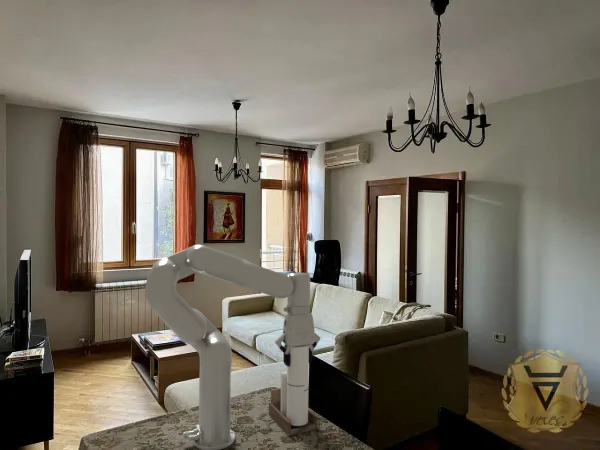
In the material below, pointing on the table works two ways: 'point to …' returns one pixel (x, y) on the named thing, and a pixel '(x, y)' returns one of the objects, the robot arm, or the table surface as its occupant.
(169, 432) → the table surface
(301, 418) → the cylindrical container
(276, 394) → the brown wooden tray
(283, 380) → the block
